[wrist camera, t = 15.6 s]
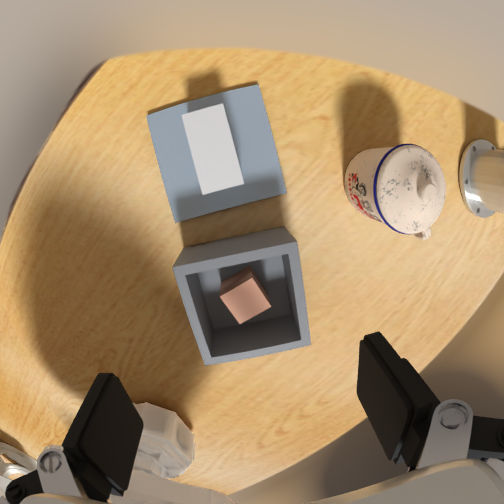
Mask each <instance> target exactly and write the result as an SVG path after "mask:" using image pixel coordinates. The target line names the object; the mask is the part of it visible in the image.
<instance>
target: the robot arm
mask: <svg viewBox="0 0 504 504" xmlns="http://www.w3.org/2000/svg"><path fill="white" fill-rule="evenodd" d="M459 180H460V189H461V193H462V197H463V200H464V202H465V205H466V206H467V208H468V209H469V211H470V212H471V213H472V214H474V215H476V216H478V217H481V218H487V217H490V216H491V215H493V214H494V213H495V212H499V213H502V214H504V150H497V149H496V148H495V146H494V145H493V144H492V143H491V142H489V141H487V140H483V139H477V140H474V141H472V142H471V143H469V145H468V146H467V147H466V149H465V151H464V153H463V155H462V159H461V163H460V172H459ZM357 395H358V398H359V400H360V402H361V404H362V406H363V408H364V410H365V412H366V414H367V416H368V418H369V420H370V422H371V424H372V427H373V429H374V431H375V433H376V435H377V437H378V439H379V441H380V443H381V445H382V447H383V449H384V452H385V454H386V456H387V458H388V459H389V460H394V462H395V464H396V465H398V464H400V463H403V462H405V463H406V465H407V467H409V469H408V472H407V473H405V474H403V475H400V476H397V477H395V478H392V479H389V480H386V481H383V482H381V483H378V484H375V485H372V486H369V487H366V488H362V489H360V490H356V491H352V492H349V493H345V494H342V495H338V496H334V497H331V498H327V499H323V500H318V501H314V502H309V503H304V504H504V419H495V418H487V417H479V416H473V413H472V410H471V408H470V407H469V405H468V404H466V403H465V402H463V401H460V400H447V401H444V402H442V403H440V401H439V400H438V399H437V397H436V396H435V395H434V393H433V392H432V391H431V390H430V388H429V387H428V385H427V384H426V383H425V382H424V380H423V379H422V378H421V377H420V375H419V374H418V373H417V371H416V370H415V369H414V368H413V366H412V365H411V364H410V363H409V361H408V360H407V359H405V358H402V359H401V358H400V356H399V355H398V354H397V353H396V351H395V350H394V349H393V347H392V346H391V345H390V344H389V342H388V341H387V340H386V339H385V337H384V336H383V335H382V334H381V333H380V332H375V333H371V334H368V335H365V336H364V340H361V341H360V348H359V366H358V380H357ZM143 427H144V423H143V420H142V418H141V416H140V415H139V413H138V411H137V410H136V408H135V406H134V405H133V403H132V401H131V400H130V398H129V396H128V394H127V393H126V391H125V389H124V387H123V385H122V383H121V382H120V380H119V378H118V377H117V376H115V375H114V374H113V373H99V374H98V375H97V377H96V379H95V381H94V382H93V384H92V386H91V388H90V390H89V392H88V394H87V395H86V397H85V399H84V401H83V403H82V405H81V407H80V409H79V411H78V413H77V415H76V417H75V419H74V421H73V423H72V425H71V427H70V429H69V431H68V433H67V435H66V437H65V439H64V441H63V443H62V445H61V446H62V447H63V448H64V449H63V451H61V450H59V449H56V448H51V449H47V450H45V451H44V452H42V453H41V454H40V456H39V457H38V459H37V469H36V470H34V471H32V472H30V473H28V474H26V475H24V476H21V477H19V478H17V479H15V480H13V481H11V482H10V483H9V484H8V485H7V487H6V491H5V495H6V497H4V496H2V497H0V504H112V502H111V500H110V498H109V497H110V494H111V495H116V496H122V497H123V495H124V491H126V490H127V489H128V486H129V482H130V478H131V474H132V470H133V466H134V462H135V458H136V454H137V450H138V446H139V442H140V439H141V435H142V431H143Z"/></svg>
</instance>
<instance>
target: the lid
mask: <svg viewBox="0 0 504 504" xmlns="http://www.w3.org/2000/svg"><path fill="white" fill-rule="evenodd" d="M147 121H148V125H149V129H150V133H151V137H152V141H153V145H154V149H155V153H156V157H157V161H158V164H159V168H160V172H161V175H162V179H163V183H164V186H165V190H166V193H167V197H168V200H169V204H170V207H171V210H172V214H173V217H174V220H175V223H177V222H181V221H184V220H188V219H191V218H195V217H198V216H202V215H205V214H209V213H213V212H216V211H220V210H224V209H227V208H231V207H235V206H238V205H242V204H246V203H250V202H254V201H258V200H262V199H266V198H270V197H274V196H278V195H282V194H286V193H287V192H286V188H285V183H284V179H283V175H282V171H281V167H280V163H279V159H278V155H277V151H276V147H275V143H274V139H273V135H272V131H271V128H270V124H269V120H268V116H267V113H266V109H265V105H264V102H263V98H262V95H261V91H260V88H259V84H258V85H253V86H248V87H243V88H239V89H234V90H230V91H226V92H222V93H218V94H214V95H210V96H206V97H203V98H199V99H196V100H192V101H189V102H186V103H182V104H179V105H176V106H173V107H170V108H167V109H164V110H161V111H158V112H155V113H152V114H150V115H147Z"/></svg>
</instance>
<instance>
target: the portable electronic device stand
mask: <svg viewBox="0 0 504 504" xmlns="http://www.w3.org/2000/svg"><path fill="white" fill-rule="evenodd" d="M1 454H6V455H7V456H8V457H9V458H11V459H12V460H14V461H16V462H17V463H19V464H21V465H22V466H20V465H17V464H12V463H5V462H4V461H3V460H2V458H1V457H0V488H1V489H2V490H3V491H4V492H5V491H6V487H7V485H8V484H9V483H10V482H11V481H13V480H11V479H9V478H7V477H8V476H9V475H11V474H14V473H21V474H25V475H26V474H28V473H30V472H32V471H34V470H36V469H37V460H36V459H34V458H32V457H31V456H29V455H27V454H25V453H24V452H22V451H20V450H18V449H17V448H15V447H13V446H11V445H9V444H6V443H3V442H0V455H1ZM23 466H24V467H23Z"/></svg>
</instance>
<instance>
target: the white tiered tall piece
mask: <svg viewBox="0 0 504 504" xmlns="http://www.w3.org/2000/svg"><path fill="white" fill-rule="evenodd" d="M133 405H134V406H135V408H136V410H137V411H138V413H139V415H140V416H141V418H142V420H143V423H144V427H143V431H142V435H141V439H140V442H139V446H138V450H137V454H136V458H135V462H134V466H133V470H132V474H131V478H130V482H129V486H128V489H127V490H126V491H124V495H123V497H122V496H116V495H111V494H110V497H109V498H110V500H111V502H112V504H236V503H235V502H233V501H232V500H231V499H229V498H228V497H227V496H225V494H222V493H219V492H217V491H214V490H212V489H207V488H202V487H197V486H192V485H188V484H183V483H179V482H175V481H171V480H168V479H165V478H175V477H178V476H179V475H180V474H183V473H184V472H185V470H186V469H187V468H188V467H189V466H190V464H191V463H192V461H193V460H194V452H195V443H194V436H195V435H194V434H193V433H192V432H191V430H190V429H189V428H188V427H187V426H186V425H185V424H184V422H183V421H182V420H181V419H180V418H179V417H178V415H177V414H176V412H173V411H170V410H167V409H164V408H161V407H158V406H155V405H153V404H150V403H147V402H145V403H141V404H136V403H133ZM49 445H50V444H49ZM49 445H48V446H46V447H45V448H44V450H43V452H44V451H45V450H47V449H48V447H49ZM51 448H56V449H59V450H61V451H63V449H64V448H63V447H62V446H61V445H50V447H49V449H51Z"/></svg>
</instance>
